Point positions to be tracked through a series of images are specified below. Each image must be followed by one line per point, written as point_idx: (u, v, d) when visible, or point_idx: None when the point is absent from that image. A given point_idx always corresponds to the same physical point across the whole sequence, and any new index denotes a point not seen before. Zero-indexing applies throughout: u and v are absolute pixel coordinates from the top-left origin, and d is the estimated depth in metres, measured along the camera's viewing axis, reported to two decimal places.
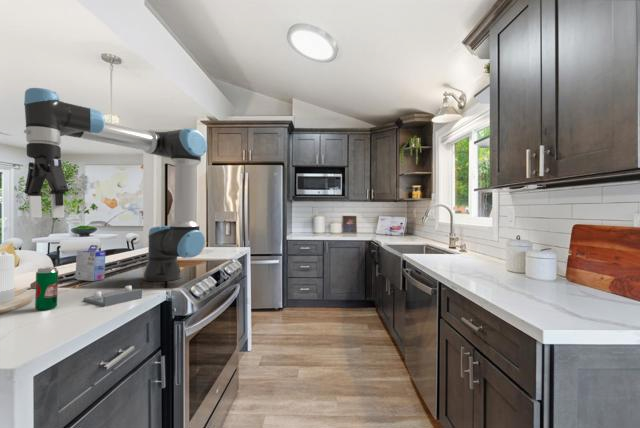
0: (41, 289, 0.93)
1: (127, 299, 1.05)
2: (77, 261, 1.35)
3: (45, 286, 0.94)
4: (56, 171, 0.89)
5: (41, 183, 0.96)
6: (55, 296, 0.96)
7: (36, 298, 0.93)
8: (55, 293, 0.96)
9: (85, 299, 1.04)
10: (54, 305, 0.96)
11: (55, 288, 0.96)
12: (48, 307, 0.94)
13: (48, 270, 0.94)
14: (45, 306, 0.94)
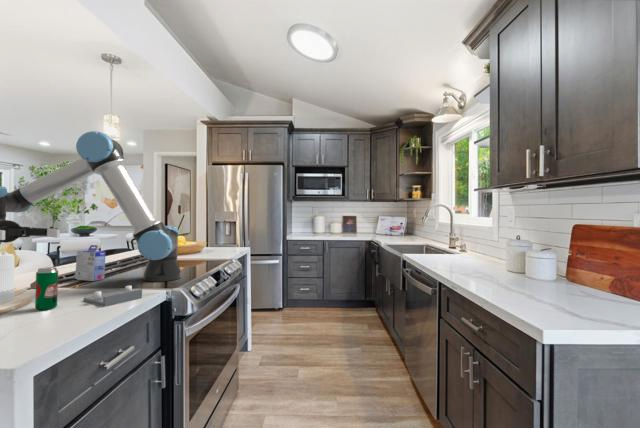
0: (41, 289, 0.93)
1: (127, 299, 1.05)
2: (77, 261, 1.35)
3: (45, 286, 0.94)
4: None
5: (34, 229, 1.09)
6: (55, 296, 0.96)
7: (36, 298, 0.93)
8: (55, 293, 0.96)
9: (85, 299, 1.04)
10: (54, 305, 0.96)
11: (55, 288, 0.96)
12: (48, 307, 0.94)
13: (48, 270, 0.94)
14: (45, 306, 0.94)
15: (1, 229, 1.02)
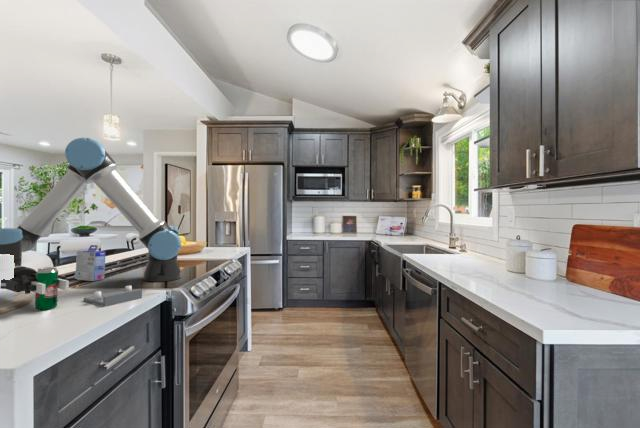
0: None
1: (127, 299, 1.05)
2: (77, 261, 1.35)
3: None
4: (8, 287, 0.94)
5: None
6: (55, 296, 0.96)
7: (36, 298, 0.93)
8: (55, 293, 0.96)
9: (85, 299, 1.04)
10: (54, 305, 0.96)
11: (55, 288, 0.96)
12: (48, 307, 0.94)
13: (48, 270, 0.94)
14: (45, 306, 0.94)
15: (28, 279, 0.97)
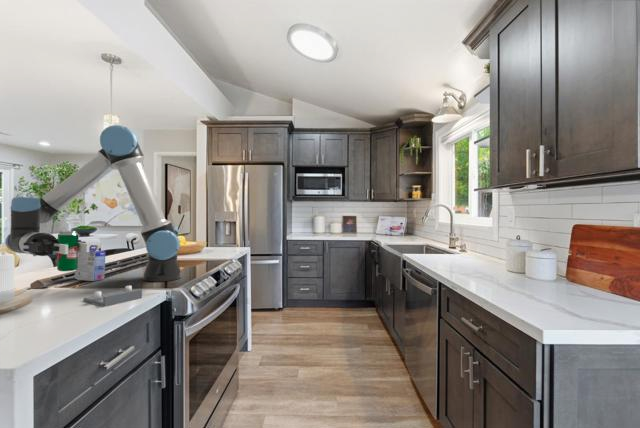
0: None
1: (127, 299, 1.05)
2: None
3: None
4: (30, 248, 0.97)
5: None
6: (76, 258, 1.00)
7: (58, 259, 0.97)
8: (76, 255, 0.99)
9: (85, 299, 1.04)
10: (75, 267, 0.99)
11: (76, 250, 0.99)
12: (70, 268, 0.98)
13: (69, 232, 0.98)
14: (67, 267, 0.97)
15: (49, 243, 1.01)
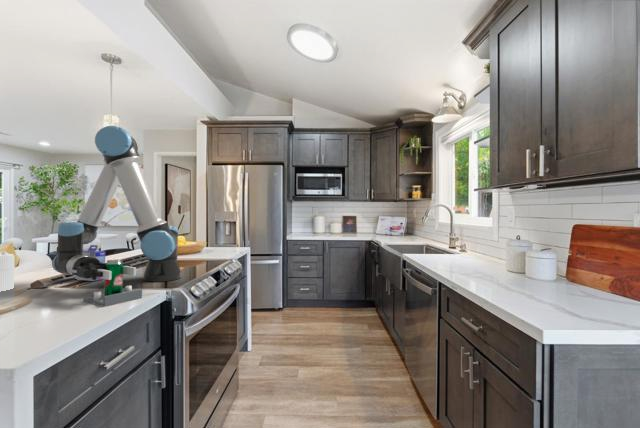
0: None
1: (127, 299, 1.05)
2: None
3: (114, 275, 1.05)
4: (78, 273, 1.05)
5: None
6: (121, 285, 1.08)
7: (106, 286, 1.05)
8: (121, 282, 1.08)
9: (85, 299, 1.04)
10: None
11: (121, 278, 1.08)
12: None
13: (116, 261, 1.06)
14: None
15: (94, 267, 1.08)
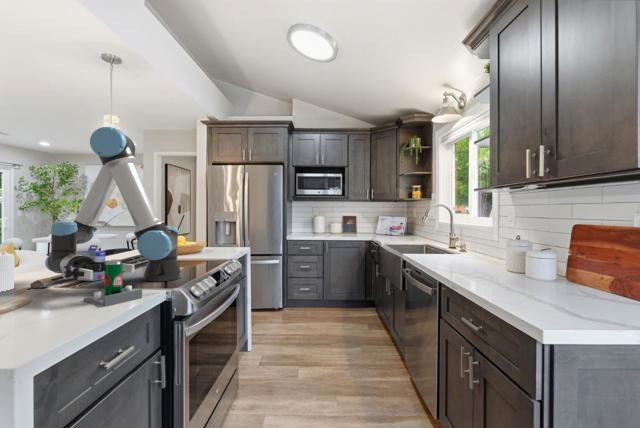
0: (110, 279, 1.05)
1: (127, 299, 1.05)
2: None
3: (113, 276, 1.05)
4: None
5: None
6: (121, 285, 1.07)
7: (105, 287, 1.05)
8: (121, 282, 1.07)
9: (85, 299, 1.04)
10: None
11: (121, 278, 1.07)
12: None
13: (115, 262, 1.06)
14: None
15: (82, 266, 1.09)
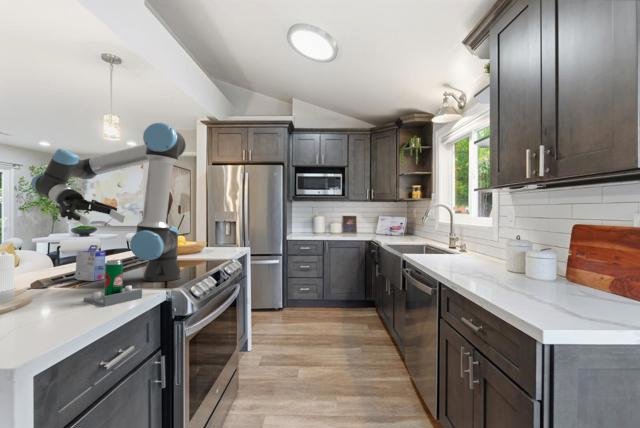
0: (110, 279, 1.05)
1: (127, 299, 1.05)
2: (77, 261, 1.35)
3: (114, 276, 1.05)
4: (59, 208, 1.13)
5: (98, 207, 1.23)
6: (121, 285, 1.07)
7: (106, 287, 1.05)
8: (121, 282, 1.07)
9: (85, 299, 1.04)
10: None
11: (121, 278, 1.07)
12: None
13: (116, 262, 1.06)
14: None
15: (76, 206, 1.16)
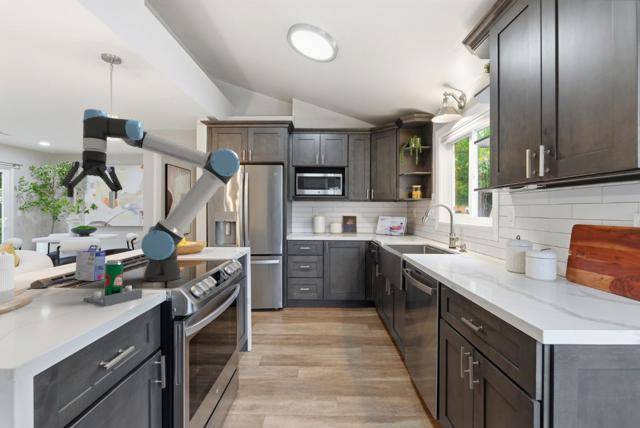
0: (111, 279, 1.05)
1: (127, 299, 1.05)
2: (77, 261, 1.35)
3: (114, 275, 1.05)
4: (70, 170, 1.16)
5: (107, 181, 1.26)
6: (121, 285, 1.08)
7: (106, 287, 1.05)
8: (121, 282, 1.08)
9: (85, 299, 1.04)
10: None
11: (121, 278, 1.07)
12: None
13: (116, 262, 1.06)
14: None
15: (84, 177, 1.18)
